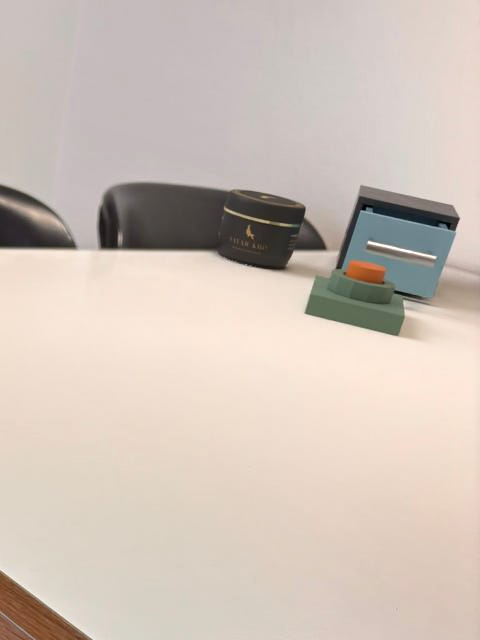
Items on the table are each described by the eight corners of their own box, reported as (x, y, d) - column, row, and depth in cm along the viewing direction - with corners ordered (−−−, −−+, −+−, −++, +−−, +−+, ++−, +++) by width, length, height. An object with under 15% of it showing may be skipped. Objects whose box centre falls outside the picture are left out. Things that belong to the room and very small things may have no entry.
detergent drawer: (434, 308, 126) (460, 239, 122) (337, 285, 128) (360, 217, 124) (427, 280, 142) (449, 219, 138) (342, 260, 144) (362, 199, 140)
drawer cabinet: (431, 295, 138) (460, 218, 133) (334, 272, 140) (359, 195, 135) (426, 277, 150) (453, 205, 145) (337, 256, 152) (360, 184, 147)
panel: (397, 336, 113) (411, 298, 111) (304, 314, 115) (316, 276, 113) (395, 314, 123) (408, 279, 121) (310, 294, 125) (321, 259, 123)
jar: (204, 255, 134) (221, 191, 131) (221, 246, 143) (237, 185, 139) (282, 275, 132) (301, 210, 128) (294, 264, 140) (312, 203, 136)
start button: (381, 289, 115) (386, 272, 114) (344, 280, 116) (349, 263, 115) (380, 282, 118) (386, 266, 118) (345, 274, 119) (350, 258, 118)
